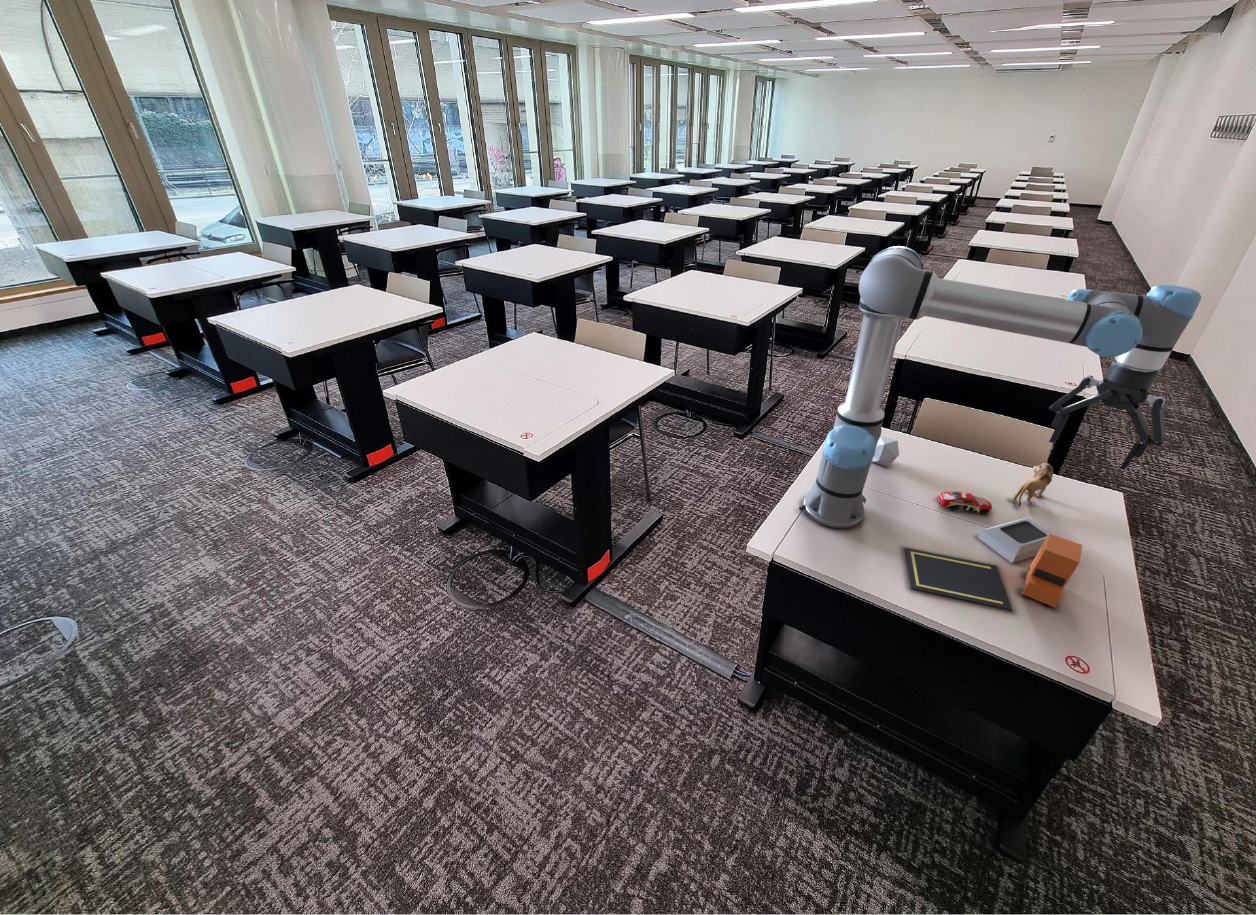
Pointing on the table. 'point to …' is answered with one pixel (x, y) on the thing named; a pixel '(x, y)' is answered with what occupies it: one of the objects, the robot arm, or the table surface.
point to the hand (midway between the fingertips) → (1087, 453)
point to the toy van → (1051, 569)
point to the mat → (956, 578)
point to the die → (886, 451)
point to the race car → (964, 502)
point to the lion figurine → (1035, 483)
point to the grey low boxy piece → (1015, 539)
